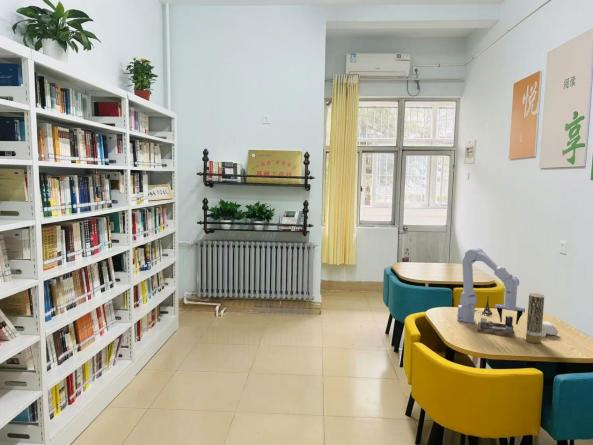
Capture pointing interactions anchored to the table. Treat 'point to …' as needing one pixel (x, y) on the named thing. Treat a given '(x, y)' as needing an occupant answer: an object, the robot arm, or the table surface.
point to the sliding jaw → (508, 322)
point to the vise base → (494, 328)
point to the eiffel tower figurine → (487, 310)
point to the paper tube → (535, 317)
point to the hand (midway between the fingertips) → (508, 322)
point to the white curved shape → (548, 329)
